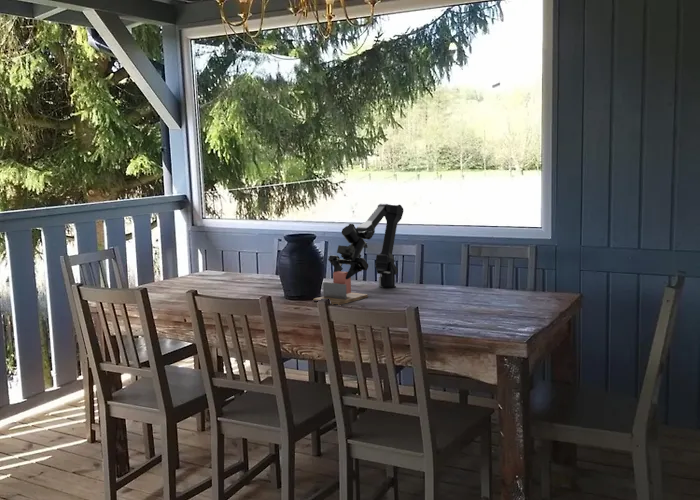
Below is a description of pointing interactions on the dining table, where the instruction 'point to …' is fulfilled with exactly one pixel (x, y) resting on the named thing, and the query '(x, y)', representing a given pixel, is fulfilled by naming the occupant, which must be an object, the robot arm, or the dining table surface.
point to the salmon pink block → (342, 280)
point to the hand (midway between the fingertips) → (340, 278)
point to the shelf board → (350, 298)
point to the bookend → (334, 290)
